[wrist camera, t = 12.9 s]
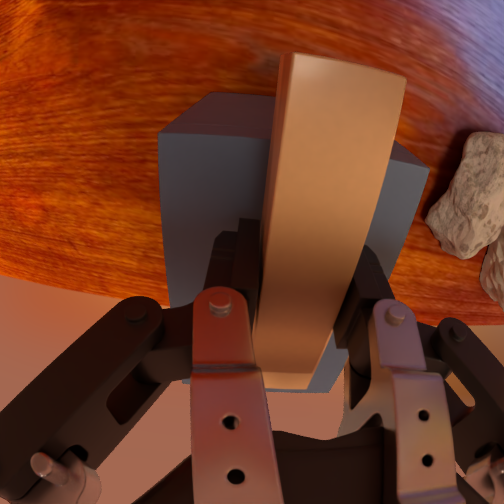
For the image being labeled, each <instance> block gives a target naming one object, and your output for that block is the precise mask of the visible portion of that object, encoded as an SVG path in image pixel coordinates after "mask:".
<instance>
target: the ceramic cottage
mask: <svg viewBox="0 0 504 504" xmlns="http://www.w3.org/2000/svg"><path fill="white" fill-rule="evenodd" d="M488 248H489V249H488V252H487V255H486V256H485V259H484V262H483V265H482V272H481V274H480V282H481V285H482V288H483V289H484V291H485V292H486V293H487V294H489V296H490V298H491V299H492V300H494V301H498V303H499V305H500V307H501V308H503V312H504V225H503V226H502V228H501V232H500V234H499V236H498V238H497V239H496V240H495V241H493V242H492V243H491V244H490V245H489V247H488Z"/></svg>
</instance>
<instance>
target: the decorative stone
mask: <svg viewBox="0 0 504 504" xmlns="http://www.w3.org/2000/svg"><path fill="white" fill-rule="evenodd" d="M425 223H426V224H427V225H428V226H429V227H430V229H431V230H432V232H433V234H434V237H435V238H436V239H438V240H439V241H440V242H441V249H442V250H444V251H446V252H447V253H449V254H451V255H455V256H457V257H458V258H460V259H468V258H471V257H472V256H474V255H475V254H476V253H477V252H478V251H479V250H480V249H482V248H483V247H484V246H487V245H489V244H491V243H492V242H493V241H495V240H496V239H497V238H498V236H499V234H500V232H501V228H502V226H503V225H504V134H500V133H491V132H474V133H472V134H470V135H469V137H468V138H467V140H466V142H465V144H464V147H463V157H462V158H461V163H460V166H459V167H458V169H457V171H456V173H455V175H454V178H453V179H452V180H451V182H450V185H449V188H448V190H447V192H446V193H445V194H443V195H442V196H441V197H440V199H439V200H438V201H437V202H436V203H435V204H434V205H433V206H432V207H431V208H430V210H429V212H428V215H427V217H426V219H425Z"/></svg>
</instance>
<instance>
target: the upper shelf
mask: <svg viewBox="0 0 504 504" xmlns="http://www.w3.org/2000/svg"><path fill="white" fill-rule="evenodd" d="M275 99H276V97H271V96H262V95H251V94H239V93H223V92H211V93H209V94H208V95H207V96H205V97H204V98H203V99H201V100H200V101H198V102H197V103H196V104H194V105H193V106H192V107H190V108H189V109H188V110H186V111H185V112H184V113H182V114H181V115H180V116H179V117H177V118H176V119H175V120H173V121H172V122H171V123H170V124H168V125H167V126H166V127H165V128H163V129H162V130H161V131H160V132H159V133H158V167H159V190H160V207H161V221H162V234H163V246H164V256H165V266H166V276H167V285H168V293H169V301H170V308H175V307H181V306H184V305H187V304H189V303H191V302H193V301H194V300H195V298H196V296H197V295H198V294H199V293H200V292H201V291H203V287H204V283H205V278H206V274H207V270H208V265H209V261H210V258H211V252H212V248H213V244H214V240H215V238H216V237H217V236H218V235H219V234H220V233H221V232H222V231H223V230H224V231H235V232H238V225H239V218H248V219H259V220H260V227H261V218H262V210H263V202H264V193H265V185H266V177H267V168H268V160H269V151H270V143H271V134H272V125H273V117H274V108H275ZM429 171H430V168H429V167H427V166H426V165H425V164H424V163H423V162H421V161H420V160H419V159H418V158H417V157H415V156H414V155H413V154H412V153H410V152H409V151H408V150H407V149H405V148H404V147H403V146H402V145H400V144H399V143H398V142H397V141H395V140H394V142H393V146H392V151H391V154H390V158H389V162H388V166H387V170H386V174H385V177H384V181H383V184H382V188H381V191H380V195H379V198H378V202H377V205H376V208H375V212H374V215H373V218H372V221H371V224H370V228H369V231H368V234H367V237H366V240H365V243H364V245H367V246H368V247H369V248H370V249H371V250H372V251H373V252H374V253H375V254H376V255H377V257H378V260H379V262H380V266H382V269H383V271H384V274H385V276H386V278H387V280H388V279H389V277H390V275H391V273H392V270H393V268H394V266H395V263H396V261H397V259H398V256H399V254H400V251H401V249H402V247H403V244H404V242H405V239H406V237H407V234H408V231H409V229H410V226H411V223H412V221H413V218H414V215H415V213H416V210H417V207H418V204H419V201H420V198H421V196H422V193H423V190H424V187H425V183H426V180H427V177H428V174H429ZM348 356H349V353H348V349H336V343H335V338H334V332H332V334H331V337H330V339H329V341H328V344H327V346H326V348H325V351H324V353H323V355H322V357H321V359H320V362H319V364H318V366H317V368H316V370H315V372H314V375H313V377H312V379H311V381H310V383H309V385H308V387H307V389H275V388H265V391H267V392H291V393H329V391H330V390H331V388H332V386H333V385H334V383H335V381H336V380H337V378H338V376H339V375H340V373H341V371H342V369H343V368H344V364H345V361H346V360H347V358H348ZM182 383H183V384H190V379H183V380H182Z"/></svg>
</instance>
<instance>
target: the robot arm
mask: <svg viewBox="0 0 504 504" xmlns="http://www.w3.org/2000/svg"><path fill="white" fill-rule="evenodd" d="M259 248H260V220H259V219H248V218H239V225H238V232H235V231H224V230H223V231H222V232H221V233H220V234H219V235H218V236H217V237H216V238H215V240H214V244H213V248H212V252H211V258H210V261H209V265H208V270H207V274H206V278H205V283H204V287H203V291H201V292H200V293H199V294H198V295H197V296H196V298H195V300H194V301H193V302H191V303H189V304H187V305H184V306H181V307H175V308H168V309H162V308H161V306H160V304H159V303H158V302H156V301H155V300H153V299H151V298H149V297H144V296H134V297H129V298H127V299H124V300H122V301H121V302H119V303H118V304H117V305H116V306H114V307H113V308H112V309H111V310H110V311H109V312H107V313H106V314H105V315H104V316H103V317H102V318H101V319H100V320H98V321H97V322H96V323H95V324H94V325H93V326H92V327H90V329H88V330H87V331H86V332H85V333H84V334H83V335H81V336H80V337H79V338H78V339H77V340H76V341H75V342H74V343H73V344H71V345H70V346H69V347H68V348H67V349H66V350H65V351H64V352H63V353H62V354H60V355H59V356H58V357H57V358H56V359H55V360H54V361H53V362H52V363H51V364H50V365H49V366H47V367H46V368H45V369H44V370H43V371H42V372H41V373H40V374H39V375H38V376H37V377H36V378H35V379H34V380H33V381H32V382H31V383H30V384H28V386H26V387H25V388H24V389H23V390H22V391H21V392H20V393H19V394H18V395H17V396H16V397H15V398H14V399H13V400H12V401H11V402H10V403H9V404H8V405H7V406H6V407H5V408H4V409H3V410H2V411H1V412H0V497H2V498H3V499H5V500H7V501H8V502H9V503H10V504H96V502H97V500H98V499H99V497H100V494H101V481H100V478H99V476H98V474H97V473H96V471H95V470H96V469H97V468H98V467H99V466H100V464H101V463H102V462H103V461H104V460H105V459H106V458H107V457H108V455H109V454H110V453H111V452H112V451H113V450H114V448H115V447H116V446H117V445H118V444H119V443H120V442H121V441H122V439H123V438H124V437H125V436H126V435H127V434H128V433H129V431H130V430H131V429H132V428H133V427H134V425H135V424H136V423H137V422H138V421H139V420H140V418H141V417H142V416H143V415H144V414H145V413H146V412H147V410H148V409H149V408H150V407H151V406H152V405H153V403H154V402H155V401H156V400H157V399H158V397H159V396H160V395H161V394H162V393H163V392H164V390H165V389H166V388H167V387H168V386H169V384H170V383H171V382H172V381H176V380H183V379H190V408H191V409H190V414H191V415H190V416H191V455H189V456H188V457H187V458H186V459H184V460H183V461H182V462H181V463H180V464H179V465H177V466H176V467H175V468H174V469H173V470H172V471H171V472H169V473H168V474H167V475H166V476H165V477H164V478H162V479H161V480H160V481H159V482H158V483H156V484H155V485H154V486H153V487H152V488H150V489H149V490H148V491H147V492H145V493H144V494H143V495H142V496H141V497H139V498H138V499H137V500H135V501H134V502H133V503H132V504H504V367H503V365H502V364H501V363H500V362H499V361H498V360H497V358H496V357H495V356H494V355H493V354H492V353H491V352H490V350H489V349H488V348H487V347H486V346H485V345H484V344H483V343H482V342H481V340H480V339H479V338H478V337H477V336H476V335H475V334H474V333H473V332H472V331H471V329H470V328H469V327H468V326H467V325H466V324H465V323H463V322H462V321H460V320H458V319H456V318H451V317H448V318H444V319H443V320H442V321H441V322H440V323H439V325H438V326H437V327H433V326H430V325H427V324H423V323H420V322H417V321H416V318H415V315H414V314H413V312H412V311H411V309H410V308H409V307H408V306H406V305H405V304H403V303H402V302H400V301H397V300H395V297H394V295H393V292H392V290H391V287H390V285H389V283H388V280H387V278H386V276H385V274H384V271H383V269H382V266H380V262H379V260H378V257H377V255H376V254H375V253H374V252H373V251H372V250H371V249H370V248H369V247H368V246H367V245H364V246H363V249H362V252H361V255H360V257H359V260H358V263H357V266H356V269H355V272H354V274H353V277H352V280H351V282H350V285H349V288H348V290H347V293H346V296H345V298H344V301H343V303H342V306H341V308H340V311H339V313H338V316H337V318H336V321H335V323H334V326H333V332H334V338H335V343H336V349H348V353H349V356H348V358H347V360H346V361H345V364H344V413H343V419H342V422H341V425H340V427H339V431H338V435H337V438H334V439H330V440H318V439H314V438H309V437H304V436H300V435H296V434H292V433H288V432H284V431H272V428H271V422H270V416H269V410H268V404H267V398H266V391H265V385H264V379H263V374H262V370H261V368H260V366H257V365H256V361H255V354H254V348H253V341H252V331H253V324H254V317H255V310H256V303H257V296H258V285H259ZM452 372H453V373H454V374H455V375H456V377H457V378H458V379H459V380H460V381H461V383H462V384H463V385H464V386H465V388H466V389H467V390H468V391H469V393H470V394H471V395H472V396H473V398H474V399H475V406H473V407H468V406H466V405H465V404H464V403H463V402H462V401H461V399H460V398H459V397H458V395H457V394H456V393H455V392H454V390H453V389H452V388H451V387H450V386H449V384H448V383H447V382H446V381H445V379H446V378H447V377H448V376H449V375H450V374H451V373H452ZM455 461H456V462H457V464H458V465H459V466H460V468H461V469H462V471H463V472H464V473H465V475H466V476H465V477H463V478H462V477H461V476H460V475H459V474H458V473H457V472H456V468H455V467H456V466H455Z"/></svg>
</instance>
